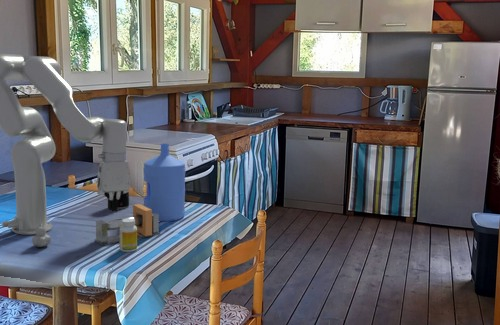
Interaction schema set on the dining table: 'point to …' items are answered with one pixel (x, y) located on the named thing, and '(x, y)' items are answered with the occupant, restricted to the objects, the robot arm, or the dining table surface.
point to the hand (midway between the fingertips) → (112, 210)
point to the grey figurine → (41, 237)
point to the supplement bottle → (128, 235)
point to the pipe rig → (105, 226)
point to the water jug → (165, 185)
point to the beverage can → (123, 200)
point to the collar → (144, 219)
